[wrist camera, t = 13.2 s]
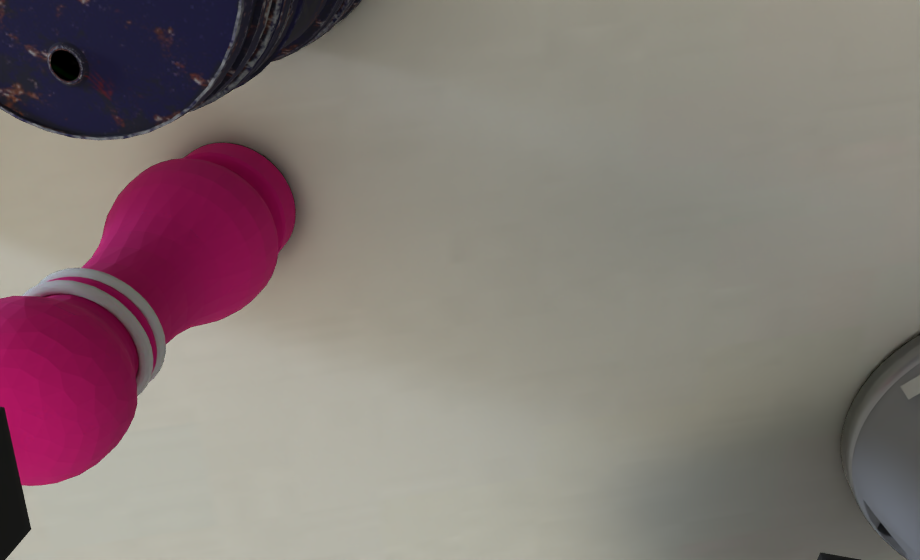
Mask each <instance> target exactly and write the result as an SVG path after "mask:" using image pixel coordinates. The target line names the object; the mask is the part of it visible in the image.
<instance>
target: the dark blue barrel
mask: <svg viewBox="0 0 920 560" xmlns="http://www.w3.org/2000/svg"><path fill="white" fill-rule="evenodd" d="M360 2H361V0H0V109H1V110H3V111H5V112H7V113H8V114H10V115H12V116H14V117H15V118H17V119H19V120H21V121H23V122H26V123H28V124H31V125H33V126H36V127H38V128H41V129H43V130H45V131H49V132H53V133H57V134H60V135H64V136H68V137H72V138H81V139H91V140H112V139H125V138H129V137H133V136H137V135H142V134H146V133H149V132H151V131H154V130H156V129H158V128H160V127H162V126H165V125H167V124H169V123H171V122H173V121H174V120H176V119H178V118H180V117H181V116H183V115H184V114H186V113H187V112H191V111H194V110H196V109H199V108H201V107H203V106H205V105H207V104H210V103H212V102H214V101H216V100H217V99H219V98H221V97H222V96H224V95H225V94H227V93H229V92H230V91H232V90H233V89H235V88H237V87H239V86H242V85H243V84H245V83H246V82H248V81H249V80H251V79H252V78H253V77H255V76H256V75H258V74H259V73H260V72H261V71H262V70H263V69H264V68H265V67H266V66H267V65H268V64H269V63H270V62H272V61H276V60H279V59H282V58H284V57H286V56H288V55H290V54H292V53H294V52H297V51H298V50H300V49H301V48H302V47H305V46H307V45H309V44H310V43H312V42H313V41H315V40H317V39H318V38H319V37H321V36H322V35H324V34H325V33H326V32H328V31H329V30H331V29H332V28H333V26H334V25H335V24H337V23H338V22H340V21H341V20H343V19H344V18H345V17H347V16H348V15H349V14H350V13H351V12H352V11H353V10H354V9H355V8H356V7H357V6H358V4H359V3H360Z"/></svg>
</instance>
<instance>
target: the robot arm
mask: <svg viewBox="0 0 920 560" xmlns="http://www.w3.org/2000/svg"><path fill="white" fill-rule="evenodd" d="M841 458H842V464H843V469H844V472H845V475H846V479H847V481H848V483H849V486H850V488H851V490H852V493H853V495H854V497H855V499H856V502H857V504H858V506H859V508H860V510H861V512H862V513H863V515H864V517H865V518H866V520H867V521H868V522H869V524H870V525H871V526H872V527H873V528H874V529H875V531H876V532H877V533H878V534H879V535H880V536H881V537H882V538H883V540H885V541H886V542H887V543H888V544H889V545H890V546H891V547H892V548H893V549H894V550H896V551H897V552H898V553H899V554H901V555H902V556H904V557H905V558H907V559H908V560H920V335H919V336H917V337H916V338H914V339H912V340H911V341H909V342H908V343H906V344H905V345H904V346H902V347H901V348H900V349H898V350H897V351H896V352H894V353H893V354H892V355H891V356H890V357H889V358H888V359H886V360H885V361H884V362H883V363H882V364H881V365H880V366H879V367H878V368H877V369H876V370H875V371H874V372H873V373H872V375H871V376H870V377H869V378H868V380H867V381H866V382H865V384H864V385H863V386H862V388H861V389H860V391H859V392H858V394H857V396H856V397H855V399H854V401H853V403H852V405H851V407H850V409H849V411H848V414H847V417H846V420H845V423H844V427H843V432H842V439H841ZM30 530H31V526H30V522H29V517H28V513H27V508H26V504H25V499H24V494H23V490H22V485H21V481H20V476H19V472H18V467H17V463H16V458H15V453H14V449H13V444H12V440H11V435H10V431H9V426H8V422H7V417H6V412H5V408H4V407H0V560H5V559H6V558H7V557H8V556H9V555H10V553H11V552H12V551H13V550H14V549H15V548H16V546H17V545H18V544H19V543H20V542H21V541H22V539H23V538H24V537H25V536H26V535H27V533H28V532H29V531H30ZM817 560H859V559H854V558H848V557H842V556H837V555H831V554H826V553H820V555H819V557H818V559H817Z"/></svg>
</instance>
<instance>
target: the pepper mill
mask: <svg viewBox="0 0 920 560" xmlns="http://www.w3.org/2000/svg"><path fill="white" fill-rule="evenodd" d="M294 224H295V204H294V199H293V195H292V192H291V190H290V187H289V185H288V184H287V182H286V180H285V178H284V177H283V175H282V174H281V173H280V172H279V170H278V169H277V168H276V167H275V166H274V165H273V164H272V163H271V162H270V161H269V160H267V159H266V158H265V157H263V156H262V155H260V154H259V153H257V152H256V151H253V150H251V149H249V148H246V147H244V146H241V145H236V144H232V143H214V144H208V145H205V146H202V147H200V148H198V149H196V150H194V151H193V152H191V153H190V154H188V155H187V156H186V157H184V158H182V159H172V160H168V161H164V162H161V163H158V164H156V165H153V166H151V167H150V168H148V169H146V170H145V171H143V172H142V173H140V174H139V175H138V176H137V177H136V178H135V179H134V180H132V181H131V182H130V183H129V184H128V185H127V186H126V187H125V189H124V190H123V191H122V192H121V193H120V194H119V195H118V197H117V199H116V201H115V202H114V204H113V206H112V208H111V210H110V212H109V214H108V215H107V219H106V222H105V226H104V231H103V235H102V239H101V242H100V244H99V247H98V248H97V250H96V251H95V253H94V255H93V256H92V258H91V259H90V260H89V261H88V262H87V263H86V264H85V265H84V266H83V267H82V268H69V269H64V270H60V271H57V272H55V273H52V274H50V275H48V276H47V277H45V278H44V279H43V280H41V281H40V283H39V284H38V285H36V286H34V287H32V288H31V289H29V290H28V291H26V292H25V293H24V294H23V295H22V296H11V297H6V298H1V299H0V407H4V408H5V412H6V417H7V422H8V426H9V431H10V435H11V440H12V444H13V449H14V453H15V458H16V463H17V467H18V472H19V476H20V481H21V485H27V486H35V485H46V484H52V483H58V482H61V481H63V480H66V479H69V478H72V477H75V476H78V475H80V474H81V473H83V472H85V471H86V470H88V469H89V468H91V467H93V466H94V465H96V464H97V463H98V462H100V461H101V460H102V459H103V458H104V457H105V456H106V455H107V454H108V453H109V452H110V451H111V450H112V449H113V448H114V447H115V446H117V445H118V443H119V442H120V440H121V439H122V437H123V436H124V434H125V433H126V432H127V430H128V428H129V426H130V424H131V422H132V420H133V418H134V415H135V411H136V407H137V396H138V395H139V394H140V393H141V392H142V391H143V390H144V389H145V387H146V386H147V385H148V383H149V382H150V381H151V380H152V379H153V378H154V377H155V376H156V375H157V373H158V372H159V371H160V369H161V367H162V364H163V362H164V358H165V353H166V344H167V343H168V342H169V341H170V340H171V339H173V338H174V337H175V336H176V335H177V334H179V333H181V332H183V331H185V330H186V329H188V328H190V327H194V326H198V325H202V324H207V323H211V322H215V321H219V320H221V319H223V318H225V317H227V316H229V315H231V314H233V313H235V312H237V311H239V310H241V309H242V308H243V307H244V306H246V305H247V304H248V303H250V302H251V301H252V300H253V299H254V298H255V297H256V296H257V295H258V294H259V293H260V292H261V291H262V289H263V288H264V287H265V286H266V285H267V283H268V281H269V280H270V278H271V276H272V274H273V272H274V269H275V266H276V263H277V257H278V253H279V252H280V250H281V249H282V248H283V247H284V245H285V244H286V243H287V241H288V240H289V238H290V236H291V234H292V232H293V228H294Z"/></svg>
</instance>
